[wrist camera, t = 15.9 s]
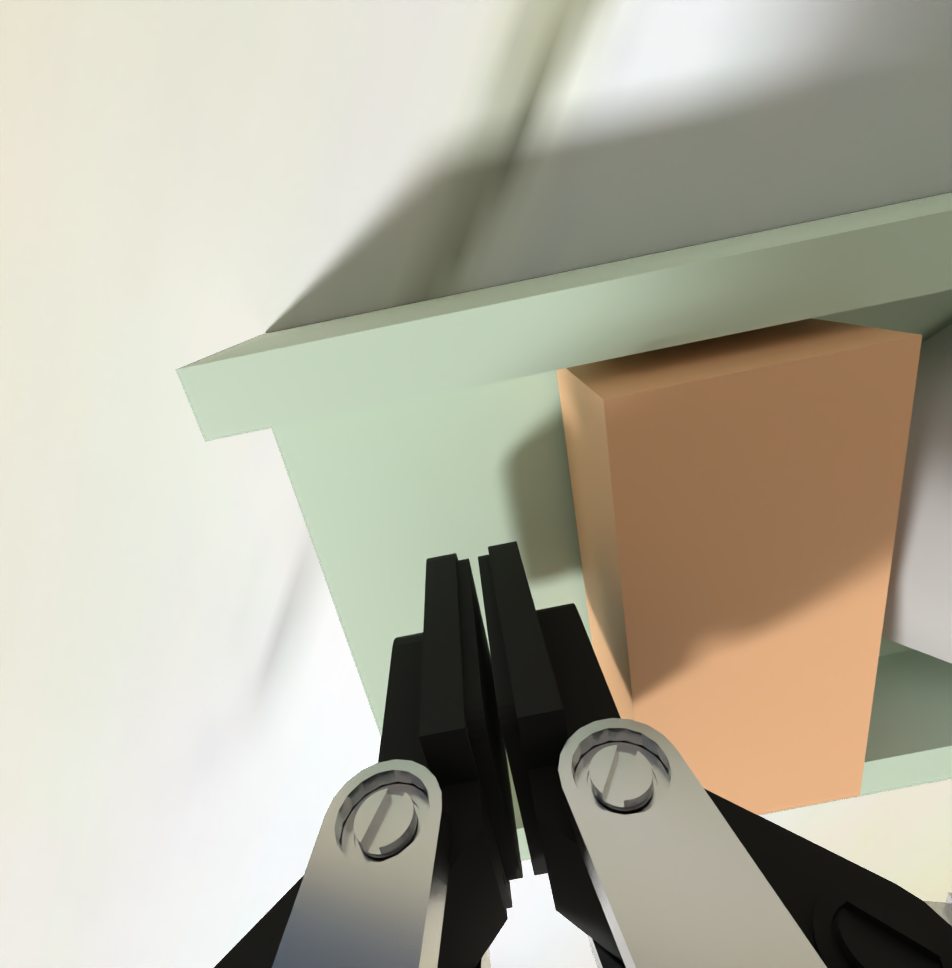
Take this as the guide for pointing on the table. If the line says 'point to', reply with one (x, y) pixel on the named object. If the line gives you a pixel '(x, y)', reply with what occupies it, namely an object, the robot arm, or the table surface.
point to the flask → (925, 514)
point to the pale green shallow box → (552, 424)
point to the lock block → (745, 545)
